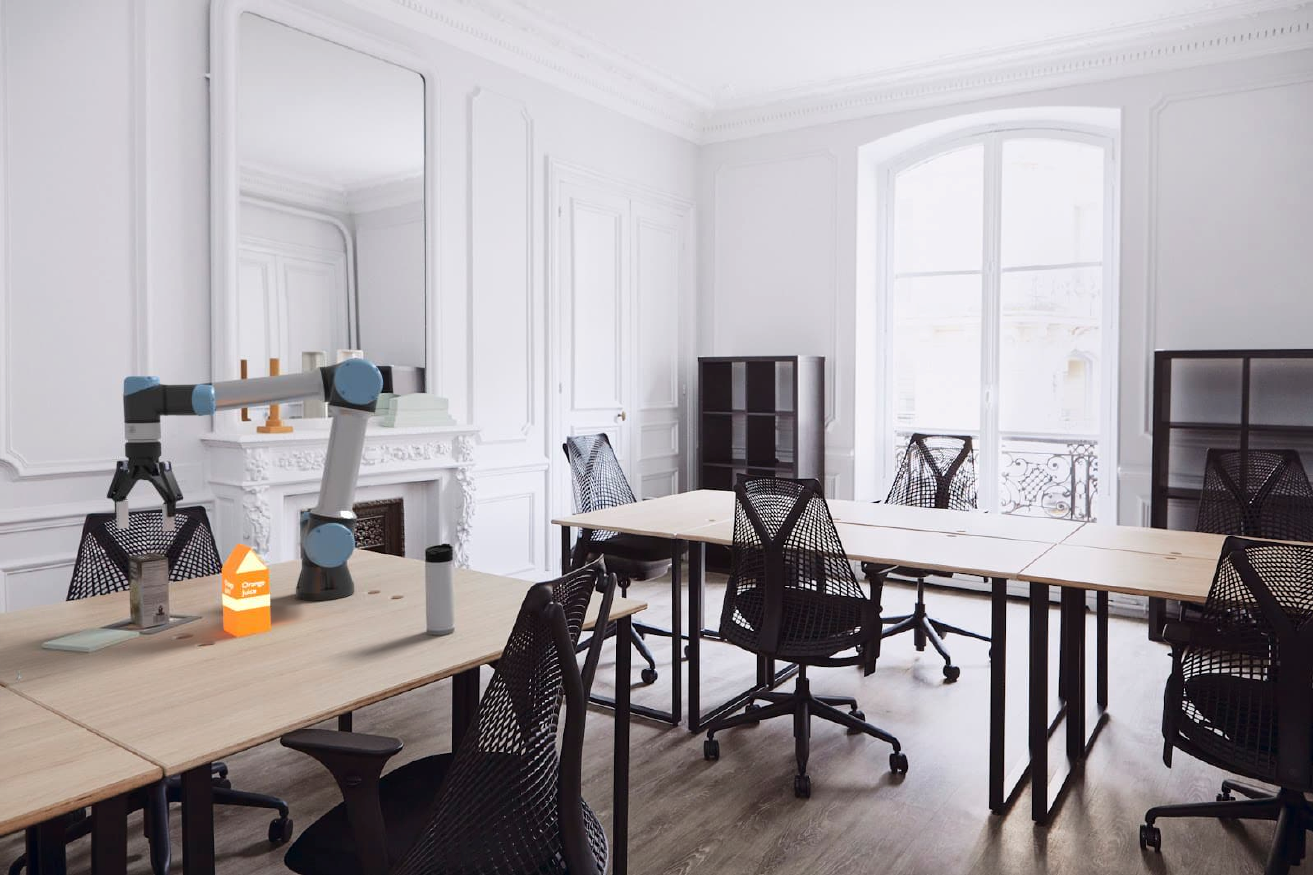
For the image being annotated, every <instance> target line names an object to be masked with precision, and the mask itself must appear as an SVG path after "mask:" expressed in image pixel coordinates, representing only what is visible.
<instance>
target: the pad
mask: <svg viewBox="0 0 1313 875" xmlns="http://www.w3.org/2000/svg"><path fill="white" fill-rule="evenodd" d="M138 637H140V633H139V632H137V631H125V630H113V629H101V628H100V627H93V628H89V629H87V630H83V631H79V632H77V633H73V634H70V635H66V636H62V637H58V638H56V639H52V640H49V641H46V642H42V649H51V650H60V651H61V650H62V651H63V650H64V651H74V652H81V653H83V652H85V653H91V652H94V651H98V650H101V649H103V648H107V647H110V646H113V645H116V644H119V643H122V642H124V641H125V642H126V641H128V640H129V641H130V640H131V639H135V638H138Z"/></svg>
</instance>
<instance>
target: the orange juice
mask: <svg viewBox="0 0 1313 875" xmlns="http://www.w3.org/2000/svg"><path fill="white" fill-rule="evenodd" d="M255 552H256V551H254V550H253V549H252V547H250V546H248V545H246V544H245V545H244V544H242V543H237V544H236V545H235V547H234V548H233V550H232V552H231V553H230V554H229V556H228V558H227V559H226V561H225V563H224V564H223V565H222V568H221V583H222V585H221V588H222V610H223V611H222V614H223V617H222V618H223V631H226V632H227V633H229V634H230V635H233V636H234V637H237V638H239V637H244V636H245V637H246V636H250V635H255V634H260V633H264V632H265V633H266V632H270V631H271V632H272V628H271V624H272V623H271V594H270V569H269V568H268V567H267V566H266V565H265V563H264V562H263V561H262V560H261V558H260V557H259V556H258V555H257V554H256V553H255Z"/></svg>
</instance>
